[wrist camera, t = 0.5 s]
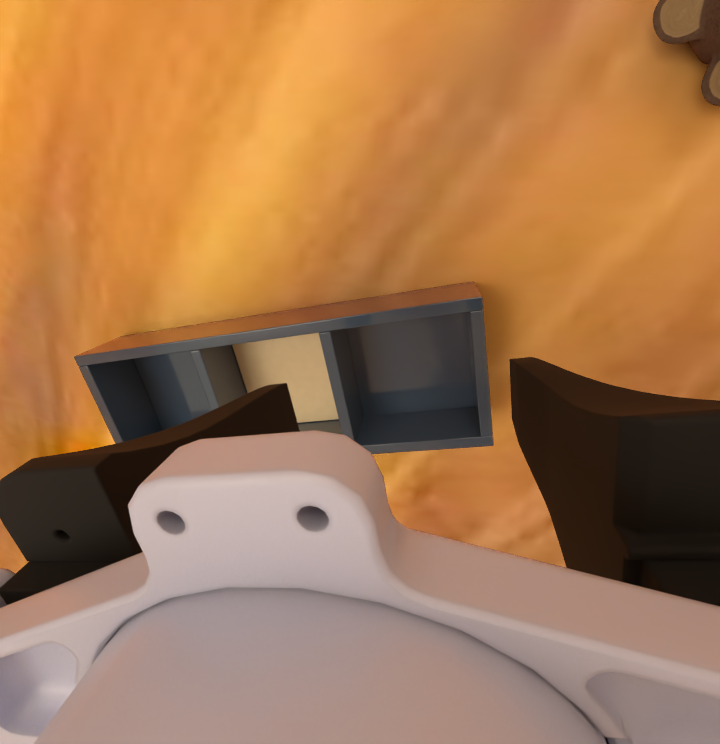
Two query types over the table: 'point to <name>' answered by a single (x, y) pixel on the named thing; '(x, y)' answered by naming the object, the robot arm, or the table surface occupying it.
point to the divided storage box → (315, 370)
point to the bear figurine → (694, 35)
